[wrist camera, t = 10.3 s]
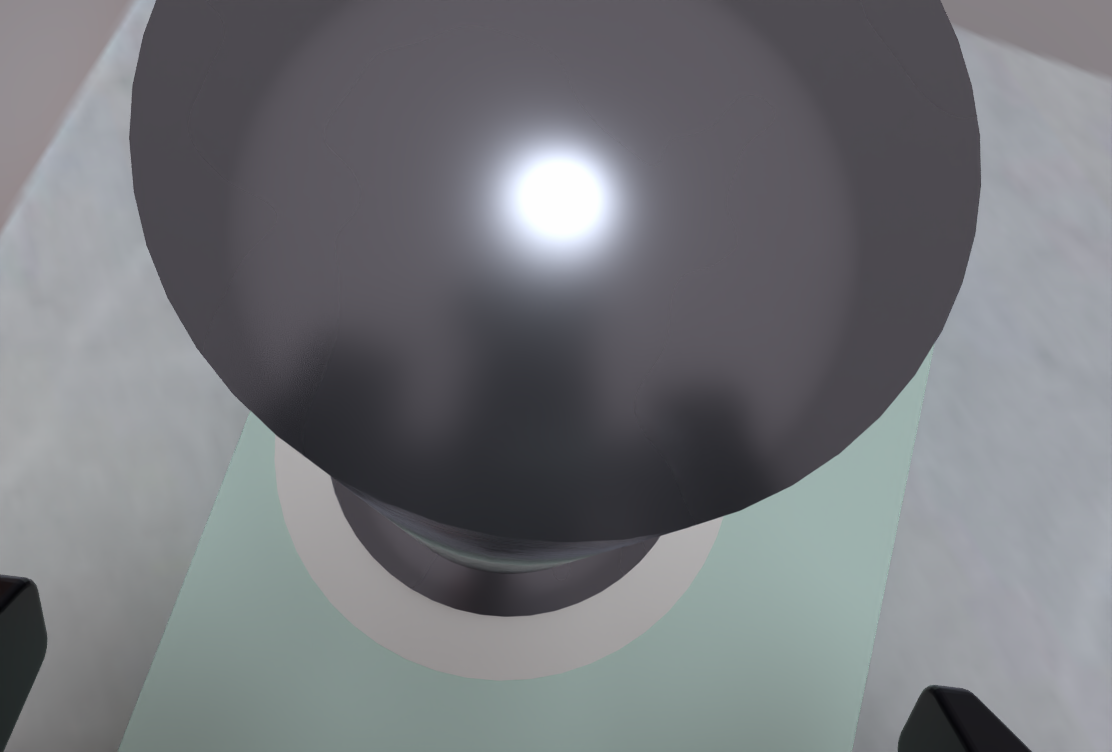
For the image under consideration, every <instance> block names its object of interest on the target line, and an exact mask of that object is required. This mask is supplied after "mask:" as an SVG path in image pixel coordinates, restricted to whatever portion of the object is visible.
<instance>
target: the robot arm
mask: <svg viewBox="0 0 1112 752" xmlns="http://www.w3.org/2000/svg"><path fill="white" fill-rule="evenodd" d="M46 648H47V632H46V627H45V622H44V617H43V612H42V607H41V602H40V598H39V593H38V589H37V586H36V584H35V583H34V582H33V581H32V580H31V579H28V578H25V577H16V576H8V575H0V752H3V751H4V749H5V747H6V745H7V742H8V740H9V738H10V735H11V733H12V731H13V729H14V726H15V724H16V722H17V720H18V717H19V715H20V713H21V710H22V708H23V706H24V704H25V701H26V699H27V697H28V694H29V692H30V690H31V688H32V685H33V683H34V681H35V679H36V676H37V674H38V672H39V669H40V667H41V665H42V662H43V660H44V657H45V653H46ZM898 752H1032V751H1031V750H1030V749H1029V748H1028V747H1027V746H1026V745H1025V744H1024V743H1023V742H1022V741H1021V740H1020V739H1019V738H1018V737H1017V736H1016V735H1015V734H1014V733H1013V732H1012V731H1011V730H1010V729H1009V728H1008V727H1007V726H1006V725H1005V724H1004V723H1003V722H1002V721H1001V720H1000V719H999V718H998V717H996V716H995V715H994V714H993V713H992V712H991V711H990V710H989V709H988V708H987V707H986V706H985V705H984V704H983V703H982V702H981V701H980V700H979V699H978V698H977V697H976V696H975V695H974V694H973V693H971V692H970V691H968V690H966V689H963V688H955V687H947V686H938V685H931V686H928V687H927V688H925V689H924V690H923V691H922V693H921V695H920V697H919V699H918V701H917V702H916V704H915V706H914V708H913V710H912V712H911V714H910V716H909V718H908V720H907V722H906V724H905V726H904V728H903V730H902V732H901V735H900V738H899V742H898Z"/></svg>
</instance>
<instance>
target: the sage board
mask: <svg viewBox="0 0 1112 752" xmlns="http://www.w3.org/2000/svg"><path fill="white" fill-rule="evenodd" d="M934 344H935V343H934ZM933 349H934V345H933V346H932V348H931V350H930V351H929V353H928V355H927V356H926V358H925V360H924V361H923V363H922V364H921V366H920V368H919V369H918V371H917V373H916V374H915V376H914V377H913V378H912V379H911V381H910V382H909V383H908V384H907V385H906V387H905V388H904V389H903V390H902V391H901V393H900V394H899V395H898V396H897V398H896V399H895V400H894V401H893V402H892V404H891V405H890V406H889V407H888V408H887V410H886V411H885V412H884V413H883V414H882V416H881V417H880V418H879V419H878V420H876V421H875V422H874V423H873V424H872V425H871V426H870V427H869V428H868V429H866V430H865V431H864V432H863V433H862V434H861V435H860V436H859V437H858V438H857V439H855V440H854V441H853V442H852V443H851V444H850V445H849V446H848V447H847V448H845V449H844V450H843V451H842V452H841V453H840V454H839V455H837V456H836V457H834V458H833V459H831V460H830V461H828V462H827V463H825V464H824V465H822V466H821V467H819V468H818V469H816V470H815V471H813V472H812V473H810V474H809V475H807V476H806V477H804V478H803V479H801V480H800V481H798V482H797V483H795V484H794V485H792V486H790V487H788V488H786V489H784V490H782V491H780V492H778V493H776V494H774V495H772V496H770V497H768V498H766V499H764V500H761V501H759V502H757V503H755V504H753V505H751V506H749V507H747V508H745V509H743V510H741V511H738V512H735V513H732V514H729V515H726V516H723V517H719V518H716V519H713V520H710V521H707V522H704V523H701V524H698V525H695V526H692V527H689V528H686V529H682V530H679V531H676V532H672V533H669V534H665V535H662V536H660V538H659V539H658V541H657V542H656V544H655V545H654V546H653V547H652V549H651V550H650V551H649V552H648V553H647V554H646V555H645V557H644V558H643V559H642V560H641V561H640V562H639V563H638V564H637V565H636V566H635V567H634V568H633V569H632V570H630V571H629V572H628V573H627V574H626V575H625V576H624V577H622V578H621V579H620V580H618V581H617V582H615V583H614V584H612V585H611V586H609V587H608V588H606V589H605V590H603V591H602V592H600V593H598V594H596V595H594V596H592V597H590V598H588V599H586V600H584V601H582V602H580V603H578V604H575V605H572V606H569V607H566V608H563V609H560V610H557V611H553V612H547V613H542V614H537V615H531V616H514V617H501V616H489V615H479V614H475V613H470V612H466V611H461V610H457V609H454V608H451V607H449V606H446V605H443V604H440V603H438V602H435V601H432V600H431V599H429V598H427V597H425V596H423V595H421V594H419V593H418V592H416V591H414V590H412V589H410V588H409V587H407V586H406V585H405V584H403V583H402V582H401V581H399V580H398V579H396V578H395V577H394V576H392V575H391V574H390V573H389V572H388V571H387V570H386V569H384V568H383V567H382V566H381V565H380V564H379V563H378V562H377V561H376V560H375V559H374V558H373V557H372V556H371V555H370V553H369V552H368V551H367V549H366V548H365V547H364V546H363V544H362V543H361V542H360V541H359V539H358V538H357V537H356V535H355V533H354V532H353V530H352V528H351V526H350V525H349V523H348V521H347V520H346V518H345V516H344V514H343V512H342V509H341V507H340V504H339V502H338V500H337V497H336V495H335V492H334V488H333V484H332V480H331V477H330V475H329V474H327V473H326V472H325V471H323V470H322V469H321V468H319V467H318V466H317V465H315V464H314V463H312V462H311V461H310V460H308V459H307V458H306V457H304V456H303V455H302V454H300V453H299V452H298V451H296V450H295V449H294V448H292V447H291V446H290V445H288V444H287V443H286V442H284V441H283V440H282V439H280V438H279V437H278V436H276V435H275V434H274V433H273V432H272V431H271V430H270V429H269V428H268V427H267V426H266V425H265V424H264V423H263V422H262V421H261V420H260V419H259V418H258V417H257V416H256V415H254V414H253V413H252V412H251V411H250V413H249V415H248V418H247V420H246V423H245V426H244V428H243V431H242V433H241V436H240V438H239V441H238V444H237V446H236V449H235V451H234V454H233V456H232V459H231V462H230V464H229V467H228V469H227V472H226V474H225V477H224V479H223V482H222V485H221V487H220V490H219V492H218V495H217V497H216V500H215V503H214V505H213V508H212V510H211V513H210V515H209V518H208V520H207V523H206V526H205V528H204V531H203V533H202V536H201V538H200V541H199V544H198V546H197V549H196V551H195V554H194V556H193V559H192V561H191V564H190V567H189V569H188V572H187V574H186V577H185V579H184V582H183V585H182V587H181V590H180V592H179V595H178V597H177V600H176V603H175V605H174V608H173V610H172V613H171V615H170V618H169V620H168V623H167V626H166V628H165V631H164V633H163V636H162V638H161V641H160V644H159V646H158V649H157V651H156V654H155V656H154V659H153V661H152V664H151V667H150V669H149V672H148V674H147V677H146V679H145V682H144V685H143V687H142V690H141V692H140V695H139V697H138V700H137V703H136V705H135V708H134V710H133V713H132V715H131V718H130V720H129V723H128V726H127V728H126V731H125V733H124V736H123V738H122V741H121V744H120V746H119V749H118V751H117V752H852V748H853V743H854V738H855V733H856V728H857V724H858V719H859V714H860V709H861V704H862V699H863V694H864V689H865V684H866V679H867V674H868V669H869V664H870V660H871V655H872V650H873V645H874V640H875V635H876V630H877V625H878V620H879V615H880V610H881V605H882V600H883V595H884V591H885V586H886V581H887V576H888V571H889V566H890V561H891V556H892V551H893V546H894V541H895V536H896V531H897V526H898V522H899V517H900V512H901V507H902V502H903V497H904V492H905V487H906V482H907V477H908V472H909V467H910V462H911V457H912V453H913V448H914V443H915V438H916V433H917V428H918V423H919V418H920V413H921V408H922V403H923V398H924V393H925V388H926V384H927V379H928V374H929V369H930V364H931V359H932V354H933Z"/></svg>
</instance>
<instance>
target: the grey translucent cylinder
mask: <svg viewBox="0 0 1112 752" xmlns="http://www.w3.org/2000/svg"><path fill="white" fill-rule="evenodd" d="M129 140H130V152H131V164H132V175H133V187H134V194H135V199H136V203H137V207H138V211H139V215H140V219H141V224H142V228H143V232H144V236H145V240H146V245H147V248H148V250H149V253H150V255H151V257H152V260H153V262H154V265H155V267H156V270H157V272H158V275H159V277H160V280H161V282H162V285H163V287H164V290H165V292H166V295H167V297H168V299H169V301H170V303H171V304H172V306H173V308H174V310H175V311H176V313H177V315H178V317H179V318H180V320H181V322H182V323H183V325H184V327H185V329H186V330H187V332H188V334H189V335H190V337H191V339H192V341H193V342H194V344H195V346H196V348H197V349H198V350H199V351H200V353H201V354H202V355H203V357H204V358H205V359H206V360H207V362H208V363H209V364H210V365H211V367H212V368H213V369H214V370H215V372H216V373H217V374H218V376H219V377H220V378H221V379H222V381H223V382H224V383H225V384H226V386H227V387H228V388H229V389H230V391H231V392H232V393H233V394H234V395H235V396H236V397H237V398H238V399H239V400H240V401H241V402H242V403H243V404H244V405H245V406H246V407H247V408H248V409H249V410H250V411H251V412H252V413H253V414H254V415H256V416H257V417H258V418H259V419H260V420H261V421H262V422H263V423H264V424H265V425H266V426H267V427H268V428H269V429H270V430H271V431H272V432H273V433H274V434H275V435H276V436H278V437H279V438H280V439H282V440H283V441H284V442H286V443H287V444H288V445H290V446H291V447H292V448H294V449H295V450H296V451H298V452H299V453H300V454H302V455H303V456H304V457H306V458H307V459H308V460H310V461H311V462H312V463H314V464H315V465H317V466H318V467H319V468H321V469H322V470H323V471H325V472H326V473H327V474H329V475H330V477H331V480H332V484H333V488H334V492H335V495H336V497H337V500H338V502H339V504H340V507H341V509H342V512H343V514H344V516H345V518H346V520H347V521H348V523H349V525H350V526H351V528H352V530H353V532H354V533H355V535H356V537H357V538H358V539H359V541H360V542H361V543H362V544H363V546H364V547H365V548H366V549H367V551H368V552H369V553H370V555H371V556H372V557H373V558H374V559H375V560H376V561H377V562H378V563H379V564H380V565H381V566H382V567H383V568H384V569H386V570H387V571H388V572H389V573H390V574H391V575H392V576H394V577H395V578H396V579H398V580H399V581H401V582H402V583H403V584H405V585H406V586H407V587H409V588H410V589H412V590H414V591H416V592H418V593H419V594H421V595H423V596H425V597H427V598H429V599H431V600H432V601H435V602H438V603H440V604H443V605H446V606H449V607H451V608H454V609H457V610H461V611H466V612H470V613H475V614H479V615H489V616H501V617H514V616H531V615H537V614H542V613H547V612H553V611H557V610H560V609H563V608H566V607H569V606H572V605H575V604H578V603H580V602H582V601H584V600H586V599H588V598H590V597H592V596H594V595H596V594H598V593H600V592H602V591H603V590H605V589H606V588H608V587H609V586H611V585H612V584H614V583H615V582H617V581H618V580H620V579H621V578H622V577H624V576H625V575H626V574H627V573H628V572H629V571H630V570H632V569H633V568H634V567H635V566H636V565H637V564H638V563H639V562H640V561H641V560H642V559H643V558H644V557H645V555H646V554H647V553H648V552H649V551H650V550H651V549H652V547H653V546H654V545H655V544H656V542H657V541H658V539H659V538H660V536H662V535H665V534H669V533H672V532H676V531H679V530H682V529H686V528H689V527H692V526H695V525H698V524H701V523H704V522H707V521H710V520H713V519H716V518H719V517H723V516H726V515H729V514H732V513H735V512H738V511H741V510H743V509H745V508H747V507H749V506H751V505H753V504H755V503H757V502H759V501H761V500H764V499H766V498H768V497H770V496H772V495H774V494H776V493H778V492H780V491H782V490H784V489H786V488H788V487H790V486H792V485H794V484H795V483H797V482H798V481H800V480H801V479H803V478H804V477H806V476H807V475H809V474H810V473H812V472H813V471H815V470H816V469H818V468H819V467H821V466H822V465H824V464H825V463H827V462H828V461H830V460H831V459H833V458H834V457H836V456H837V455H839V454H840V453H841V452H842V451H843V450H844V449H845V448H847V447H848V446H849V445H850V444H851V443H852V442H853V441H854V440H855V439H857V438H858V437H859V436H860V435H861V434H862V433H863V432H864V431H865V430H866V429H868V428H869V427H870V426H871V425H872V424H873V423H874V422H875V421H876V420H878V419H879V418H880V417H881V416H882V414H883V413H884V412H885V411H886V410H887V408H888V407H889V406H890V405H891V404H892V402H893V401H894V400H895V399H896V398H897V396H898V395H899V394H900V393H901V391H902V390H903V389H904V388H905V387H906V385H907V384H908V383H909V382H910V381H911V379H912V378H913V377H914V376H915V374H916V373H917V371H918V369H919V368H920V366H921V364H922V363H923V361H924V360H925V358H926V356H927V355H928V353H929V351H930V350H931V348H932V346H933V345H934V343H935V341H936V340H937V338H938V337H939V335H940V333H941V332H942V330H943V327H944V325H945V323H946V320H947V318H948V316H949V313H950V311H951V309H952V306H953V304H954V301H955V299H956V297H957V294H958V292H959V290H960V287H961V285H962V282H963V279H964V275H965V271H966V267H967V263H968V260H969V256H970V252H971V248H972V244H973V241H974V237H975V232H976V223H977V214H978V206H979V197H980V188H981V165H980V133H979V127H978V121H977V115H976V109H975V102H974V96H973V90H972V85H971V82H970V78H969V75H968V72H967V68H966V65H965V62H964V58H963V55H962V52H961V48H960V45H959V42H958V39H957V37H956V34H955V32H954V30H953V28H952V25H951V23H950V21H949V19H948V16H947V14H946V12H945V10H944V8H943V5H942V3H941V1H940V0H156V3H155V5H154V8H153V11H152V13H151V16H150V19H149V21H148V24H147V27H146V29H145V32H144V35H143V39H142V44H141V49H140V53H139V58H138V63H137V67H136V72H135V77H134V82H133V88H132V104H131V119H130V135H129Z"/></svg>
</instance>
